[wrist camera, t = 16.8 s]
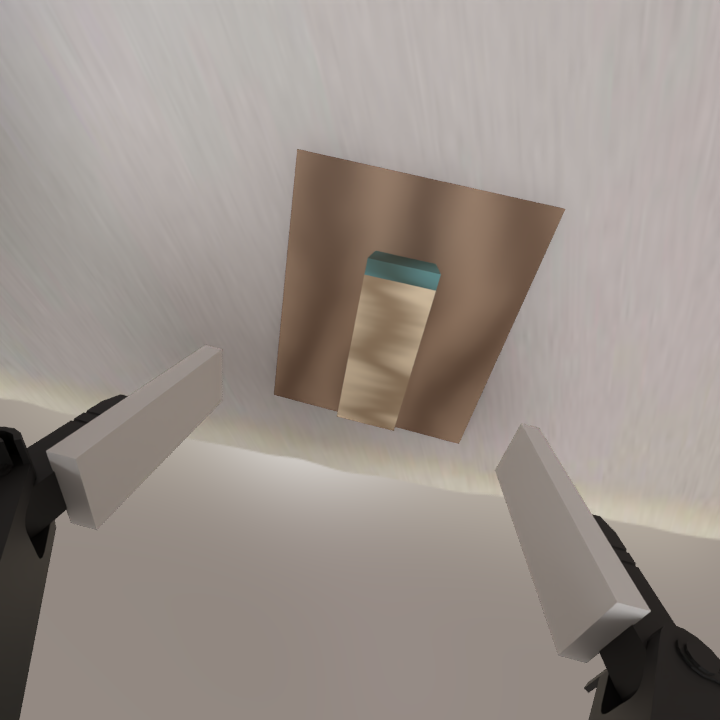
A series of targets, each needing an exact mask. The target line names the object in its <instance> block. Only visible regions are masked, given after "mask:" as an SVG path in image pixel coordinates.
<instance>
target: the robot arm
mask: <svg viewBox="0 0 720 720" xmlns="http://www.w3.org/2000/svg"><path fill="white" fill-rule="evenodd" d="M221 401H222V349H220V348H216V347H212V346H208V345H204V346H203V347H201V348H200V349H198V350H197V351H195V352H194V353H192V354H191V355H189V356H188V357H186V358H185V359H183V360H182V361H180V362H179V363H177V364H176V365H174V366H173V367H171V368H170V369H168V370H167V371H165V372H164V373H162V374H161V375H159V376H158V377H156V378H155V379H153V380H152V381H150V382H149V383H147V384H146V385H144V386H143V387H141V388H140V389H138V390H137V391H135V392H134V393H132V394H131V395H129V396H125V395H118V396H115V397H112V398H110V399H107V400H104V401H102V402H100V403H98V404H97V405H95V406H94V407H92V408H90V409H89V410H87V412H86V413H82V414H81V415H79V416H78V417H76V418H75V419H74V421H70V422H68V423H67V424H65V425H63V426H62V427H60V428H58V429H57V430H55V431H54V432H52V433H51V434H49V435H48V436H46V437H44V438H42V439H41V440H39V441H38V442H36V443H34V444H33V445H31V446H30V447H28V448H26V445H25V443H24V440H23V438H22V435H21V433H20V432H19V431H17V430H16V429H15V428H8V427H0V720H19V718H20V713H21V707H22V703H23V698H24V692H25V687H26V682H27V677H28V672H29V666H30V661H31V656H32V651H33V645H34V640H35V635H36V630H37V625H38V619H39V614H40V608H41V603H42V598H43V593H44V588H45V583H46V578H47V572H48V567H49V562H50V557H51V552H52V546H53V541H54V536H55V530H56V525H55V519H56V518H57V517H58V516H59V515H60V514H62V513H63V512H64V511H65V510H67V513H68V515H69V518H70V521H71V523H73V524H77V525H80V526H84V527H88V528H92V529H95V530H97V529H98V528H99V527H100V526H101V525H102V524H103V523H104V522H105V521H106V520H107V519H108V518H109V517H110V516H111V515H112V514H113V513H114V512H115V510H116V509H117V508H118V507H119V506H120V505H121V504H122V503H123V502H124V501H125V500H126V499H127V498H128V497H129V496H130V495H131V494H132V493H133V492H134V491H135V490H136V489H137V488H138V487H139V486H140V485H141V484H142V483H143V482H144V481H145V480H146V479H147V478H148V476H150V475H151V473H152V472H153V471H154V470H155V469H156V468H157V467H158V466H159V465H160V464H161V463H162V462H163V461H164V460H165V459H166V458H167V457H168V456H169V455H170V454H171V453H172V452H173V451H174V450H175V449H176V448H177V447H178V446H179V445H180V444H181V443H182V442H183V440H185V439H186V437H187V436H188V435H189V434H190V433H191V432H192V431H193V430H194V429H195V428H196V427H197V426H198V425H199V424H200V423H201V422H202V421H203V420H204V419H205V418H206V417H207V416H208V415H209V414H210V413H211V412H212V411H213V410H214V409H215V408H216V407H217V406H218V405H219V404H220V402H221ZM495 471H496V474H497V477H498V480H499V483H500V486H501V489H502V492H503V495H504V498H505V500H506V503H507V506H508V509H509V512H510V515H511V518H512V521H513V524H514V527H515V530H516V533H517V536H518V539H519V542H520V544H521V547H522V550H523V553H524V556H525V559H526V562H527V565H528V568H529V571H530V574H531V577H532V579H533V583H534V585H535V589H536V591H537V594H538V597H539V600H540V603H541V606H542V609H543V612H544V614H545V618H546V621H547V624H548V627H549V629H550V633H551V635H552V638H553V641H554V644H555V647H556V650H557V653H558V655H559V656H562V657H566V658H570V659H574V660H577V661H581V662H585V663H587V662H589V661H590V660H591V659H592V658H593V657H595V656H596V655H597V654H599V653H600V655H601V657H602V659H603V661H604V664H605V666H606V668H607V669H605V670H604V671H603V672H601V673H600V674H599V675H597V676H596V677H595V678H593V679H592V680H591V681H589V682H588V683H587V685H586V686H585V687H584V689H586V690H587V691H588V692H590V691H592V690H593V689H594V688H597V689H596V693H595V697H594V701H593V705H592V709H591V713H590V717H589V720H720V659H719V658H718V657H717V656H716V655H715V654H714V652H713V651H712V650H711V649H710V648H709V647H707V646H706V645H705V644H704V643H703V642H702V641H701V640H699V639H698V638H697V637H696V636H694V635H693V634H691V633H689V632H688V631H686V630H685V629H683V628H680V627H678V626H676V625H675V623H674V622H673V620H672V619H671V617H670V616H669V614H668V613H667V611H666V610H665V608H664V607H663V605H662V604H661V602H660V600H659V599H658V597H657V596H656V594H655V593H654V591H653V590H652V588H651V587H650V585H649V584H648V582H647V580H646V579H645V577H644V576H643V574H642V573H641V571H640V569H639V568H638V567H636V566H635V562H634V560H633V559H632V557H631V556H630V554H629V553H627V552H626V548H625V546H624V545H623V543H622V542H621V540H620V539H619V537H618V536H617V534H616V532H614V531H613V529H611V528H610V527H609V525H608V524H607V523H606V522H605V521H604V520H603V519H602V518H601V517H600V516H597V515H593V514H591V512H590V510H589V509H588V507H587V505H586V504H585V502H584V501H583V499H582V497H581V496H580V494H579V492H578V491H577V489H576V487H575V486H574V484H573V482H572V481H571V479H570V478H569V476H568V474H567V473H566V471H565V469H564V468H563V466H562V464H561V463H560V461H559V460H558V458H557V456H556V455H555V453H554V451H553V450H552V448H551V446H550V445H549V443H548V441H547V440H546V438H545V437H544V435H543V433H542V432H541V430H540V428H537V427H533V426H529V425H525V424H521V425H520V427H519V428H518V430H517V432H516V434H515V435H514V437H513V439H512V441H511V443H510V444H509V446H508V448H507V450H506V452H505V453H504V455H503V457H502V459H501V461H500V462H499V464H498V466H497V468H496V469H495Z"/></svg>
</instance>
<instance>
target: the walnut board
mask: <svg viewBox="0 0 720 720" xmlns="http://www.w3.org/2000/svg"><path fill="white" fill-rule="evenodd" d="M564 211H565V209H563V208H559V207H554V206H550V205H545V204H541V203H536V202H532V201H527V200H523V199H518V198H514V197H509V196H505V195H501V194H496V193H492V192H487V191H483V190H478V189H474V188H469V187H465V186H460V185H456V184H451V183H447V182H442V181H438V180H433V179H429V178H424V177H420V176H415V175H411V174H407V173H402V172H398V171H393V170H389V169H384V168H380V167H375V166H371V165H366V164H362V163H357V162H353V161H348V160H344V159H339V158H335V157H330V156H326V155H321V154H317V153H313V152H308V151H304V150H299V149H297V158H296V168H295V179H294V189H293V200H292V210H291V221H290V231H289V242H288V252H287V263H286V273H285V284H284V295H283V305H282V316H281V326H280V337H279V347H278V358H277V368H276V379H275V389H274V395H277V396H281V397H285V398H288V399H292V400H296V401H300V402H303V403H307V404H311V405H315V406H319V407H322V408H326V409H330V410H334V411H337V412H338V408H339V403H340V398H341V393H342V387H343V382H344V377H345V372H346V367H347V362H348V356H349V351H350V346H351V341H352V336H353V331H354V326H355V320H356V315H357V310H358V305H359V300H360V295H361V290H362V284H363V279H364V274H365V269H366V264H367V259H368V257H369V256H370V255H371V254H372V253H374V252H375V251H380V252H384V253H389V254H393V255H398V256H402V257H407V258H411V259H416V260H420V261H425V262H429V263H434V264H436V265H437V267H438V269H439V271H440V273H441V276H440V279H439V282H438V286H437V289H436V292H435V296H434V299H433V302H432V306H431V309H430V312H429V315H428V319H427V322H426V325H425V329H424V332H423V335H422V339H421V342H420V345H419V348H418V352H417V355H416V358H415V362H414V365H413V368H412V372H411V375H410V378H409V381H408V385H407V388H406V391H405V395H404V398H403V401H402V405H401V408H400V411H399V414H398V418H397V421H396V424H395V427H398V428H401V429H405V430H409V431H413V432H417V433H420V434H424V435H428V436H432V437H435V438H439V439H443V440H447V441H450V442H454V443H458V444H459V442H460V440H461V438H462V436H463V433H464V431H465V429H466V427H467V425H468V422H469V420H470V418H471V416H472V414H473V411H474V409H475V407H476V405H477V403H478V400H479V398H480V396H481V394H482V392H483V389H484V387H485V385H486V383H487V380H488V378H489V376H490V374H491V372H492V369H493V367H494V365H495V363H496V361H497V358H498V356H499V354H500V352H501V350H502V347H503V345H504V343H505V341H506V339H507V336H508V334H509V332H510V330H511V328H512V325H513V323H514V321H515V319H516V317H517V314H518V312H519V310H520V308H521V306H522V303H523V301H524V299H525V297H526V295H527V292H528V290H529V288H530V286H531V283H532V281H533V279H534V277H535V275H536V272H537V270H538V268H539V266H540V264H541V261H542V259H543V257H544V255H545V253H546V250H547V248H548V246H549V244H550V242H551V239H552V237H553V235H554V233H555V231H556V228H557V226H558V224H559V222H560V220H561V217H562V215H563V213H564Z"/></svg>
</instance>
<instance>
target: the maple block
mask: <svg viewBox="0 0 720 720" xmlns="http://www.w3.org/2000/svg"><path fill="white" fill-rule="evenodd" d="M440 276H441V273H440V271H439V269H438V267H437V265H436V264H434V263H429V262H425V261H420V260H416V259H411V258H407V257H402V256H398V255H393V254H389V253H384V252H380V251H375V252H374V253H372V254H371V255H370V256H369V257H368V259H367V264H366V269H365V274H364V279H363V284H362V290H361V295H360V300H359V305H358V310H357V315H356V320H355V326H354V331H353V336H352V341H351V346H350V351H349V356H348V362H347V367H346V372H345V377H344V382H343V387H342V393H341V398H340V403H339V408H338V413H337V417H341V418H345V419H349V420H353V421H357V422H361V423H365V424H369V425H373V426H377V427H381V428H385V429H388V430H392V431H394V428H395V424H396V421H397V418H398V414H399V411H400V408H401V405H402V401H403V398H404V395H405V391H406V388H407V385H408V381H409V378H410V375H411V372H412V368H413V365H414V362H415V358H416V355H417V352H418V348H419V345H420V342H421V339H422V335H423V332H424V329H425V325H426V322H427V319H428V315H429V312H430V309H431V306H432V302H433V299H434V296H435V292H436V289H437V286H438V282H439V279H440Z"/></svg>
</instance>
